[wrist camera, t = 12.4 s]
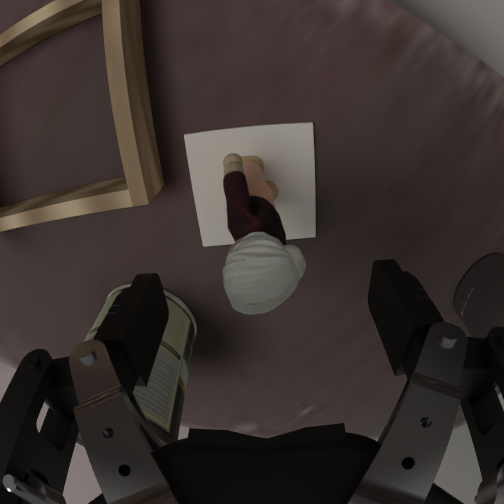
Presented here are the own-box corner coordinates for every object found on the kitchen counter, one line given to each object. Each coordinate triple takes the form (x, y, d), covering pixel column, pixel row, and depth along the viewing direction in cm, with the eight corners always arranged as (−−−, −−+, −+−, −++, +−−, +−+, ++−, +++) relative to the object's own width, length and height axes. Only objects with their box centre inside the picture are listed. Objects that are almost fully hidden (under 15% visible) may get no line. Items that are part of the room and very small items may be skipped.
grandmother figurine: (201, 164, 21) (145, 256, 10) (243, 131, 20) (231, 186, 9) (266, 239, 24) (277, 371, 13) (306, 211, 23) (352, 332, 12)
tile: (311, 121, 20) (312, 122, 19) (314, 233, 24) (315, 237, 24) (185, 133, 20) (183, 134, 20) (204, 242, 25) (203, 246, 24)
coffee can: (212, 348, 31) (198, 470, 19) (133, 358, 32) (101, 461, 20) (172, 271, 26) (125, 409, 14) (87, 291, 27) (25, 401, 15)
